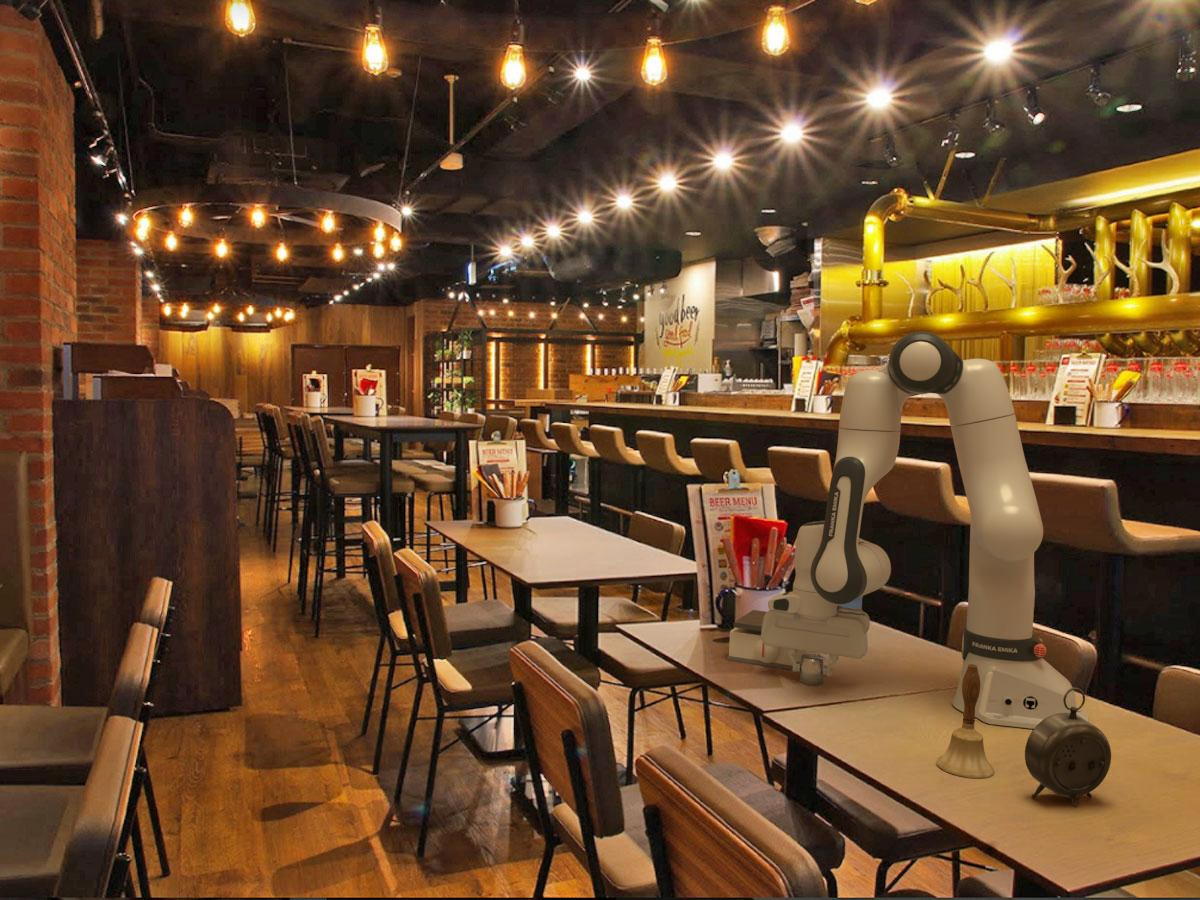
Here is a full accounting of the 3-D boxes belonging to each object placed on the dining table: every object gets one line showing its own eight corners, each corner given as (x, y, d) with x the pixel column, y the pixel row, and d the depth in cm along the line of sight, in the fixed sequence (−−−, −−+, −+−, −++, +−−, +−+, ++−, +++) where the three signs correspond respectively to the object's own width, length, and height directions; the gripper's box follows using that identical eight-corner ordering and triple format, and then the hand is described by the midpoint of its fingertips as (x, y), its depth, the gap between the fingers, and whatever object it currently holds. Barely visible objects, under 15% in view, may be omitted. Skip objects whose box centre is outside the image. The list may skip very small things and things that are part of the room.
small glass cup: (823, 680, 195) (824, 655, 195) (823, 686, 191) (824, 661, 190) (800, 678, 196) (801, 653, 196) (799, 684, 192) (800, 659, 191)
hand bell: (1003, 769, 151) (1010, 666, 150) (979, 783, 145) (985, 675, 144) (951, 754, 157) (957, 654, 156) (926, 766, 151) (932, 663, 150)
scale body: (820, 657, 212) (821, 629, 211) (805, 672, 200) (806, 643, 200) (744, 646, 219) (746, 619, 218) (726, 660, 207) (727, 631, 207)
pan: (816, 627, 213) (816, 618, 213) (800, 641, 200) (800, 631, 200) (752, 618, 219) (753, 609, 218) (733, 632, 206) (733, 622, 206)
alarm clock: (1089, 792, 143) (1097, 681, 142) (1114, 808, 138) (1122, 693, 137) (1019, 794, 142) (1027, 682, 141) (1042, 810, 136) (1050, 694, 135)
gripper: (873, 607, 191) (869, 678, 192) (769, 594, 199) (765, 662, 200) (867, 613, 185) (863, 686, 186) (760, 599, 194) (756, 669, 195)
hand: (811, 673), depth 193 cm, fingers closed on small glass cup, 4 cm apart
